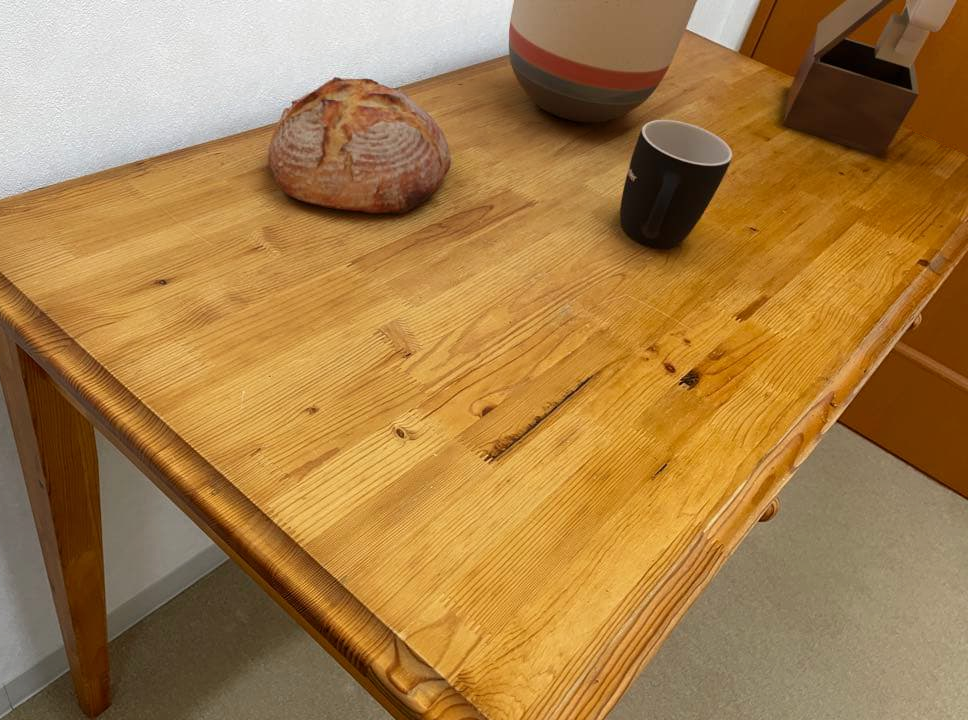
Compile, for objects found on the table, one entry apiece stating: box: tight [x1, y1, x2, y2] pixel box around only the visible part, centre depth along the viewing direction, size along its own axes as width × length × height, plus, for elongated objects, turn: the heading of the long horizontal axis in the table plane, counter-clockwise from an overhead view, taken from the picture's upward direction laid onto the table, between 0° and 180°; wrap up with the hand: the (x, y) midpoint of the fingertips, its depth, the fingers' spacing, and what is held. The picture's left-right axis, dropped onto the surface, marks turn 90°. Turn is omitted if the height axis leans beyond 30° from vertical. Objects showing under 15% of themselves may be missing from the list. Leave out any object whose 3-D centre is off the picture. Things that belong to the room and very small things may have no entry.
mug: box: [619, 119, 733, 250], centre depth 83 cm, size 12×9×10 cm
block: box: [874, 12, 931, 68], centre depth 112 cm, size 5×5×5 cm
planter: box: [508, 0, 698, 123], centre depth 100 cm, size 20×20×21 cm
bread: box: [267, 76, 452, 215], centre depth 82 cm, size 16×20×10 cm
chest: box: [782, 31, 920, 158], centre depth 118 cm, size 14×16×9 cm
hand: (898, 45), depth 112 cm, fingers closed on block, 4 cm apart
